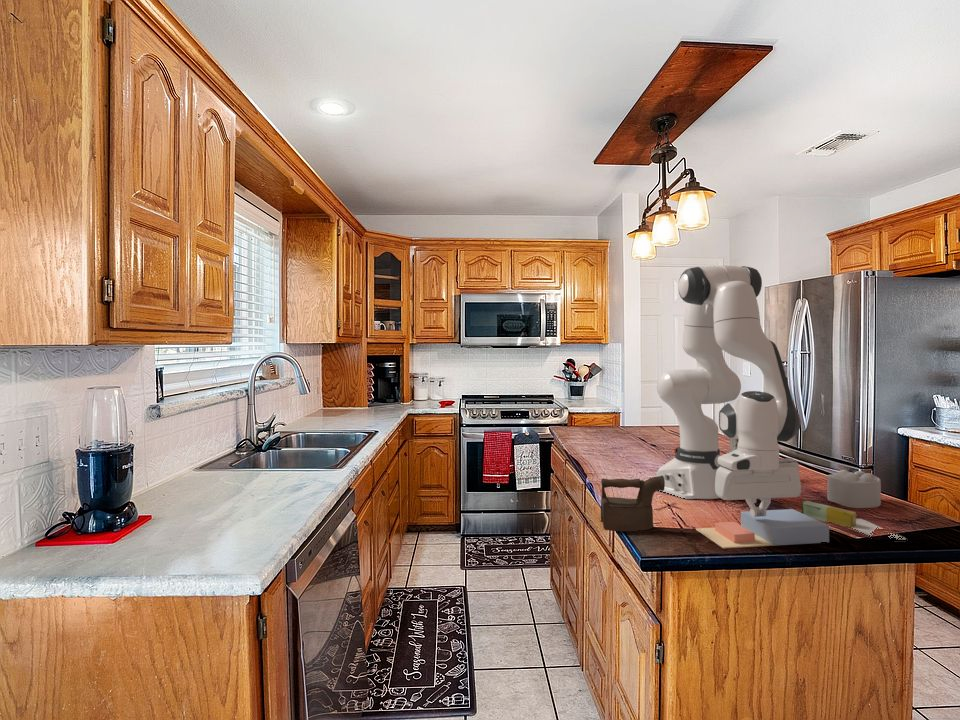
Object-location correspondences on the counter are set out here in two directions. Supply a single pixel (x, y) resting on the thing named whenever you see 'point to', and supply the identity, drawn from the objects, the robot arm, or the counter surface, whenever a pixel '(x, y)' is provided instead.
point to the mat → (727, 543)
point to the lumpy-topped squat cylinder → (854, 489)
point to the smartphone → (871, 528)
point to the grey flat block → (786, 527)
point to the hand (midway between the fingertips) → (758, 515)
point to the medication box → (829, 513)
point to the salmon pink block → (734, 532)
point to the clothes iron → (629, 505)
